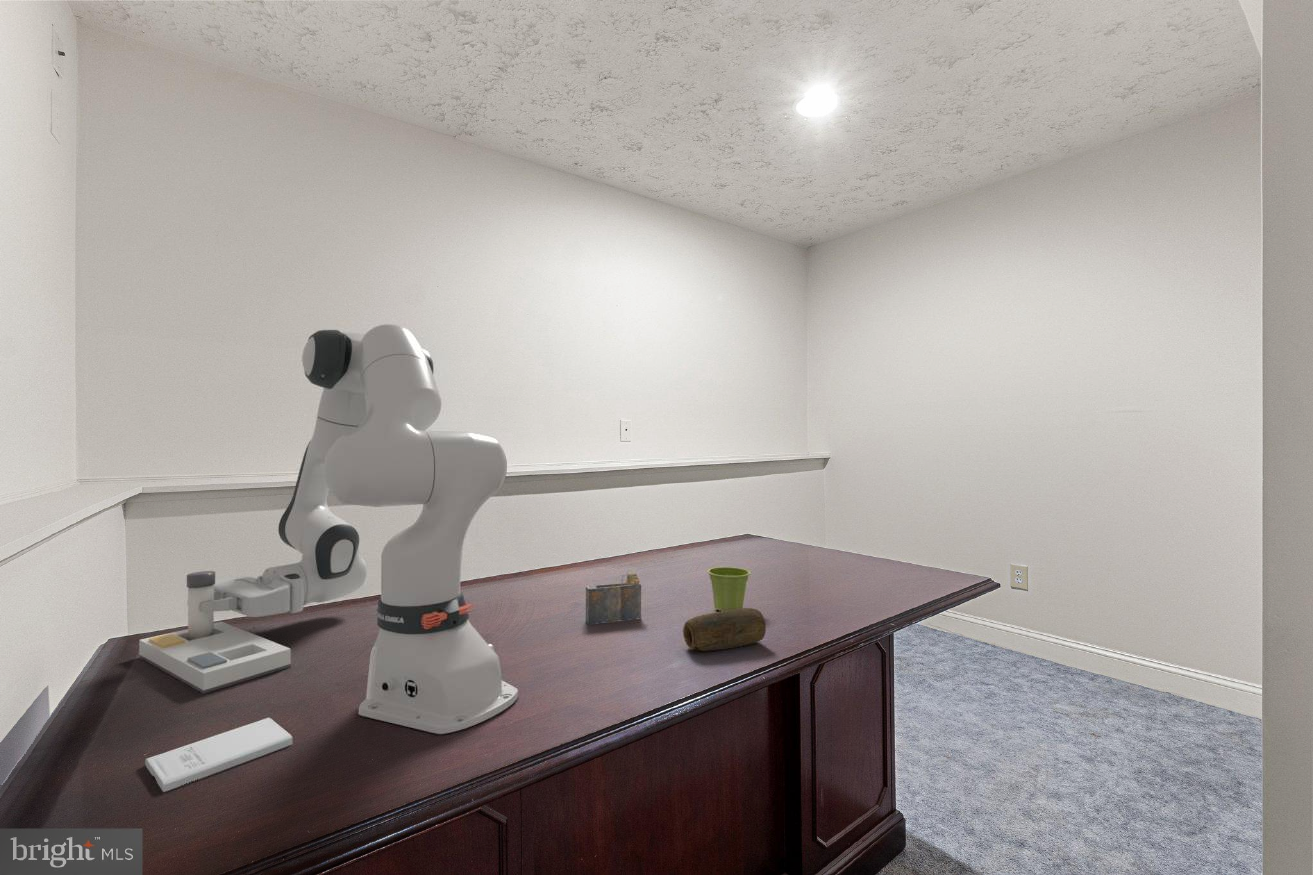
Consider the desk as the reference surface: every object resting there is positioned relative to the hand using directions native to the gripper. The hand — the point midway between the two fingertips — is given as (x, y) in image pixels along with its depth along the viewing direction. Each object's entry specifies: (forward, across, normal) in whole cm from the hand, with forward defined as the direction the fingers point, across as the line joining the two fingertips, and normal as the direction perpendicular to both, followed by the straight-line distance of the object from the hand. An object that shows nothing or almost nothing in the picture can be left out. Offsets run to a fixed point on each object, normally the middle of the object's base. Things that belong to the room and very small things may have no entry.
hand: (194, 605), depth 102 cm
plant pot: (-75, +68, +8) cm, 102 cm away
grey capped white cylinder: (-1, 0, +6) cm, 7 cm away
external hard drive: (+12, +42, +9) cm, 45 cm away
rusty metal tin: (-55, +51, +9) cm, 76 cm away
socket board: (0, +8, +8) cm, 12 cm away
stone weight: (-54, +77, +8) cm, 94 cm away
